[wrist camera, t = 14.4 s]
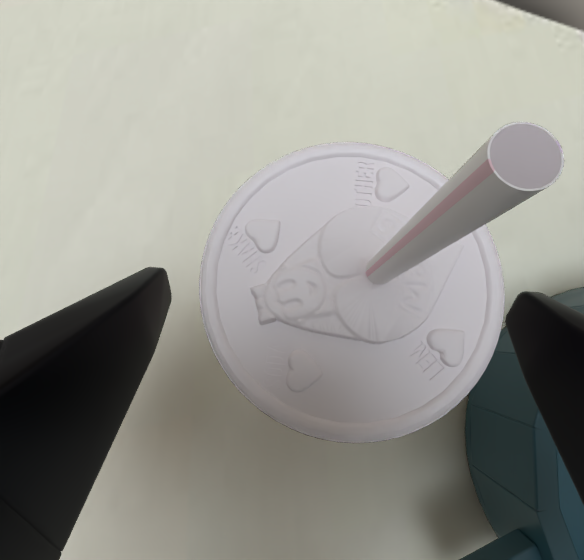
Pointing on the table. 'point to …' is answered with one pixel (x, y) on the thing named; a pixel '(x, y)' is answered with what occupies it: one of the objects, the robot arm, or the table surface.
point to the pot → (520, 464)
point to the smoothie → (365, 281)
